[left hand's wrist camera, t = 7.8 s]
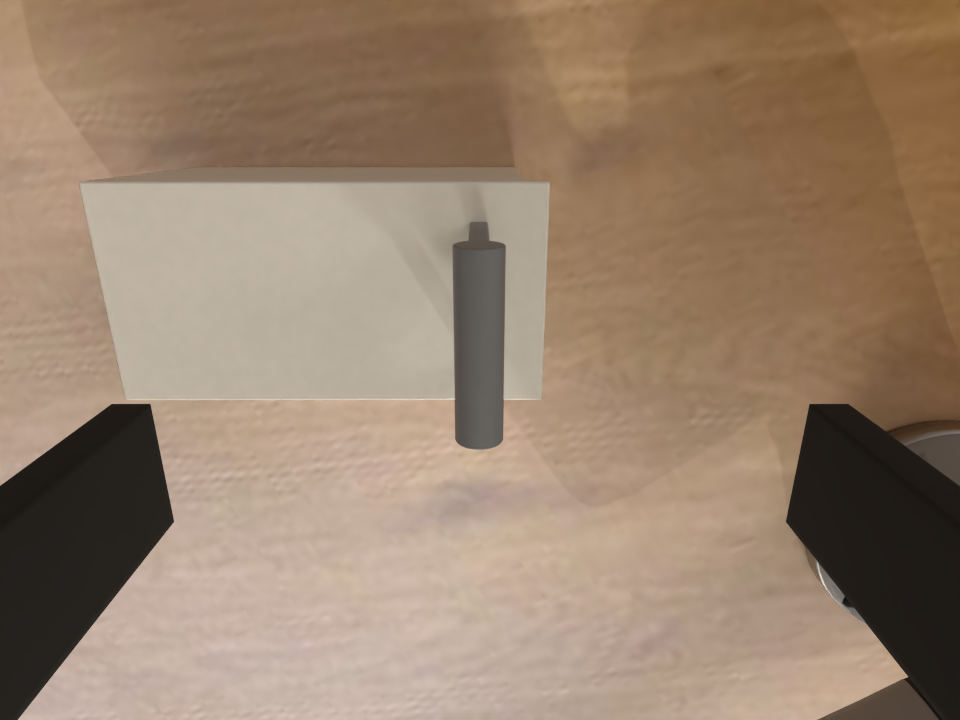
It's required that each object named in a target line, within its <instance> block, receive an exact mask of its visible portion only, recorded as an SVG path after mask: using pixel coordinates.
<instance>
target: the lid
mask: <svg viewBox="0 0 960 720" xmlns="http://www.w3.org/2000/svg"><path fill="white" fill-rule="evenodd" d="M79 187H80V192H81V196H82V201H83V206H84V210H85V215H86V219H87V224H88V229H89V233H90V238H91V243H92V247H93V252H94V257H95V261H96V266H97V270H98V275H99V280H100V284H101V289H102V294H103V298H104V303H105V307H106V312H107V317H108V321H109V326H110V331H111V335H112V340H113V344H114V349H115V354H116V358H117V363H118V368H119V372H120V377H121V382H122V386H123V391H124V395H125V399H126V400H455V439H456V441H457V443H458V444H459V445H461V446H463V447H465V448H469V449H475V450H483V449H490V448H493V447H496V446H498V445H499V444H500V443H501V442H502V440H503V407H504V400H540V399H542V383H543V357H544V330H545V304H546V278H547V251H548V225H549V198H550V183H549V182H548V181H547V180H89V181H81V182H79Z"/></svg>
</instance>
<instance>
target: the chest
mask: <svg viewBox="0 0 960 720" xmlns="http://www.w3.org/2000/svg"><path fill="white" fill-rule="evenodd" d="M97 180H527V179H526V178H525V177H524V176H523V175H522V174H521V173H520V172H519V171H518V170H517V169H516V168H515V167H198V168H190V169H182V170H173V171H165V172H156V173H148V174H140V175H131V176H123V177H114V178H106V179H97Z"/></svg>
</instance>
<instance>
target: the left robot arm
mask: <svg viewBox="0 0 960 720" xmlns="http://www.w3.org/2000/svg"><path fill="white" fill-rule="evenodd" d="M173 522H174V519H173V514H172V509H171V504H170V499H169V494H168V490H167V485H166V480H165V475H164V470H163V465H162V460H161V455H160V450H159V445H158V440H157V435H156V430H155V425H154V420H153V415H152V410H151V405H150V404H111V405H110V406H109V407H107V408H106V409H105V410H103V411H102V412H100V413H99V414H98V415H96V416H95V417H94V418H92V419H91V420H90V421H88V422H87V423H85V424H84V425H83V426H81V427H80V428H79V429H77V430H76V431H75V432H73V433H72V434H70V435H69V436H68V437H66V438H65V439H64V440H62V441H61V442H60V443H58V444H57V445H55V446H54V447H53V448H51V449H50V450H49V451H47V452H46V453H45V454H43V455H42V456H40V457H39V458H38V459H36V460H35V461H34V462H32V463H31V464H30V465H28V466H27V467H25V468H24V469H23V470H21V471H20V472H19V473H17V474H16V475H15V476H13V477H12V478H10V479H9V480H8V481H6V482H5V483H4V484H2V485H1V486H0V720H18V719H19V717H20V716H21V715H22V713H23V712H24V711H25V710H26V708H27V707H28V706H29V705H30V703H31V702H32V701H33V700H34V698H35V697H36V696H37V694H38V693H39V692H40V691H41V689H42V688H43V687H44V686H45V684H46V683H47V682H48V681H49V679H50V678H51V677H52V676H53V674H54V673H55V672H56V670H57V669H58V668H59V667H60V665H61V664H62V663H63V662H64V660H65V659H66V658H67V657H68V655H69V654H70V653H71V651H72V650H73V649H74V648H75V646H76V645H77V644H78V643H79V641H80V640H81V639H82V638H83V636H84V635H85V634H86V632H87V631H88V630H89V629H90V627H91V626H92V625H93V624H94V622H95V621H96V620H97V619H98V617H99V616H100V615H101V613H102V612H103V611H104V610H105V608H106V607H107V606H108V605H109V603H110V602H111V601H112V600H113V598H114V597H115V596H116V594H117V593H118V592H119V591H120V589H121V588H122V587H123V586H124V584H125V583H126V582H127V581H128V579H129V578H130V577H131V575H132V574H133V573H134V572H135V570H136V569H137V568H138V567H139V565H140V564H141V563H142V562H143V560H144V559H145V558H146V556H147V555H148V554H149V553H150V551H151V550H152V549H153V548H154V546H155V545H156V544H157V543H158V541H159V540H160V539H161V537H162V536H163V535H164V534H165V532H166V531H167V530H168V529H169V527H170V526H171V525H172V524H173ZM786 522H787V524H788V525H789V526H790V527H791V529H792V530H793V531H794V532H795V534H796V535H797V536H798V537H799V539H800V540H801V541H802V543H803V544H804V545H805V549H806V554H807V558H808V561H809V564H810V566H811V568H812V570H813V572H814V574H815V575H816V577H817V578H818V579H819V581H820V582H821V583H822V585H823V586H824V587H825V589H826V590H827V591H828V593H829V594H830V595H831V596H832V598H833V599H834V600H835V601H836V602H837V603H838V604H839V605H840V606H841V607H843V608H844V609H845V610H846V611H848V612H849V613H851V614H852V615H854V616H855V617H857V618H858V619H860V620H861V621H863V622H865V623H866V624H867V625H868V626H869V627H870V629H871V630H872V631H873V632H874V634H875V635H876V636H877V638H878V639H879V640H880V641H881V643H882V644H883V645H884V646H885V648H886V649H887V650H888V651H889V653H890V654H891V655H892V657H893V658H894V659H895V660H896V662H897V663H898V664H899V665H900V667H901V668H902V669H903V670H904V672H905V673H906V674H907V676H908V678H905V679H902V680H900V681H898V682H896V683H894V684H892V685H890V686H888V687H886V688H884V689H882V690H880V691H878V692H876V693H874V694H871V695H869V696H867V697H865V698H863V699H861V700H859V701H857V702H855V703H853V704H851V705H848V706H846V707H844V708H842V709H840V710H838V711H835V712H833V713H831V714H829V715H827V716H825V717H822V718H820V719H818V720H960V421H933V422H925V423H919V424H915V425H911V426H907V427H904V428H901V429H898V430H895V431H892V432H890V433H887V432H885V431H884V430H883V429H881V428H880V427H879V426H877V425H876V424H875V423H873V422H872V421H870V420H869V419H868V418H866V417H865V416H864V415H862V414H861V413H860V412H858V411H857V410H855V409H854V408H853V407H851V406H850V405H849V404H810V405H809V410H808V415H807V420H806V425H805V430H804V435H803V440H802V445H801V450H800V455H799V460H798V465H797V470H796V475H795V480H794V485H793V490H792V494H791V499H790V504H789V509H788V514H787V519H786Z"/></svg>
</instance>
